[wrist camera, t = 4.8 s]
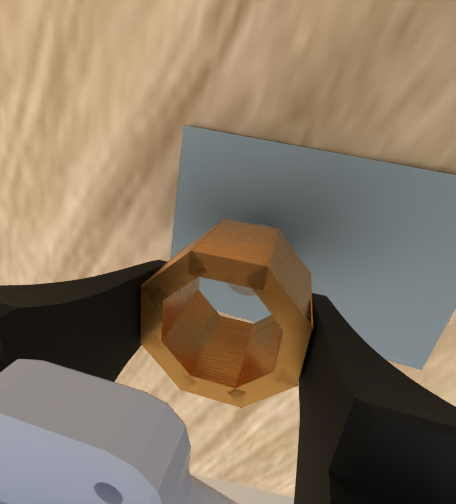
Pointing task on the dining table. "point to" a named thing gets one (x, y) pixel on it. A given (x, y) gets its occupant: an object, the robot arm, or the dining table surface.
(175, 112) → the dining table surface
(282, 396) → the dining table surface
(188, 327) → the collar ring
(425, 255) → the stand
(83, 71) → the dining table surface
